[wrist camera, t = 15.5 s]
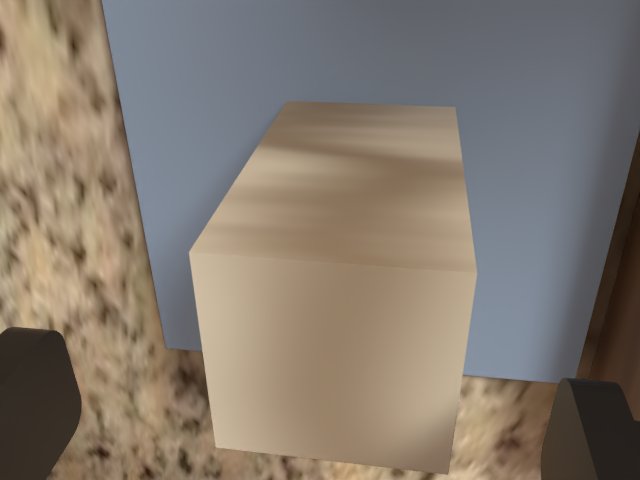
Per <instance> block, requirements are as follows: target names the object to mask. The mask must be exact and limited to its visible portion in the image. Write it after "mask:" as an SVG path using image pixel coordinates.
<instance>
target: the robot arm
mask: <svg viewBox="0 0 640 480" xmlns="http://www.w3.org/2000/svg"><path fill="white" fill-rule="evenodd" d="M81 406H82V402H81V395H80V392H79V388H78V385H77V381H76V378H75V375H74V371H73V368H72V365H71V361H70V358H69V354H68V351H67V348H66V344H65V341H64V338H63V336H62V335H61V334H60V333H59V332H57V331H54V330H43V329H32V328H20V327H11V328H8V329H6V330H5V331H3V332H2V333H1V334H0V480H46V478H47V477H48V475H49V473H50V472H51V470H52V469H53V467H54V465H55V464H56V462H57V461H58V459H59V457H60V456H61V454H62V453H63V451H64V449H65V448H66V446H67V445H68V443H69V441H70V440H71V438H72V437H73V435H74V433H75V431H76V429H77V426H78V423H79V420H80V415H81ZM541 480H640V421H636V420H634V418H633V416H632V413H631V411H630V408H629V405H628V403H627V400H626V398H625V395H624V393H623V390H622V388H621V387H620V385H619V384H618V383H616V382H608V381H597V380H586V379H575V378H562V379H561V381H560V383H559V385H558V388H557V392H556V396H555V400H554V404H553V408H552V412H551V416H550V419H549V423H548V427H547V431H546V435H545V439H544V443H543V447H542V454H541Z"/></svg>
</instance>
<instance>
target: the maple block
mask: <svg viewBox="0 0 640 480" xmlns="http://www.w3.org/2000/svg"><path fill="white" fill-rule="evenodd" d="M189 257H190V264H191V271H192V278H193V286H194V293H195V300H196V308H197V315H198V322H199V329H200V337H201V344H202V351H203V358H204V366H205V373H206V380H207V387H208V395H209V402H210V409H211V416H212V424H213V431H214V438H215V445H216V448H225V449H233V450H242V451H250V452H259V453H268V454H276V455H285V456H293V457H302V458H310V459H319V460H327V461H336V462H344V463H353V464H362V465H370V466H379V467H387V468H396V469H404V470H413V471H421V472H430V473H438V474H447V475H448V473H449V466H450V459H451V452H452V445H453V438H454V431H455V424H456V417H457V410H458V403H459V396H460V389H461V383H462V376H463V369H464V362H465V355H466V348H467V341H468V334H469V327H470V320H471V313H472V306H473V299H474V292H475V285H476V278H477V267H476V260H475V252H474V244H473V237H472V229H471V222H470V214H469V206H468V199H467V191H466V184H465V176H464V168H463V161H462V153H461V145H460V138H459V130H458V123H457V115H456V107H441V106H414V105H387V104H360V103H333V102H306V101H287V102H286V103H285V105H284V106H283V108H282V109H281V111H280V112H279V114H278V116H277V117H276V119H275V120H274V122H273V123H272V125H271V126H270V128H269V129H268V131H267V132H266V134H265V136H264V137H263V139H262V140H261V142H260V143H259V145H258V146H257V148H256V149H255V151H254V153H253V154H252V156H251V157H250V159H249V160H248V162H247V163H246V165H245V166H244V168H243V169H242V171H241V173H240V174H239V176H238V177H237V179H236V180H235V182H234V183H233V185H232V186H231V188H230V190H229V191H228V193H227V194H226V196H225V197H224V199H223V200H222V202H221V203H220V205H219V206H218V208H217V210H216V211H215V213H214V214H213V216H212V217H211V219H210V220H209V222H208V223H207V225H206V226H205V228H204V230H203V231H202V233H201V234H200V236H199V237H198V239H197V240H196V242H195V243H194V245H193V247H192V248H191V250H190V251H189Z"/></svg>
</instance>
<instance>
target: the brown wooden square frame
mask: <svg viewBox="0 0 640 480" xmlns="http://www.w3.org/2000/svg"><path fill="white" fill-rule="evenodd" d="M589 380H597V381H608V382H616V383H618V384H619V385H620V387H621V388H622V390H623V393H624V395H625V398H626V400H627V403H628V405H629V408H630V411H631V413H632V416H633V418H634V420H636V421H640V193H639V197H638V201H637V204H636V208H635V212H634V215H633V219H632V223H631V226H630V230H629V233H628V237H627V241H626V244H625V248H624V252H623V255H622V259H621V263H620V266H619V270H618V274H617V277H616V281H615V285H614V288H613V292H612V296H611V299H610V303H609V307H608V310H607V314H606V317H605V321H604V325H603V328H602V332H601V336H600V339H599V343H598V347H597V350H596V354H595V358H594V361H593V365H592V369H591V372H590V376H589Z"/></svg>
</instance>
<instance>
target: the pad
mask: <svg viewBox="0 0 640 480" xmlns="http://www.w3.org/2000/svg"><path fill="white" fill-rule="evenodd" d="M102 5H103V11H104V16H105V21H106V27H107V32H108V38H109V43H110V48H111V54H112V59H113V65H114V70H115V75H116V81H117V86H118V92H119V97H120V103H121V108H122V113H123V119H124V124H125V130H126V135H127V140H128V146H129V151H130V157H131V162H132V167H133V173H134V178H135V184H136V189H137V194H138V200H139V205H140V211H141V216H142V222H143V227H144V232H145V238H146V243H147V249H148V254H149V259H150V265H151V270H152V276H153V281H154V286H155V292H156V297H157V303H158V308H159V313H160V319H161V324H162V330H163V335H164V341H165V346H166V348H170V349H181V350H192V351H202V344H201V337H200V329H199V322H198V315H197V308H196V300H195V293H194V286H193V278H192V271H191V264H190V257H189V251H190V250H191V248H192V247H193V245H194V243H195V242H196V240H197V239H198V237H199V236H200V234H201V233H202V231H203V230H204V228H205V226H206V225H207V223H208V222H209V220H210V219H211V217H212V216H213V214H214V213H215V211H216V210H217V208H218V206H219V205H220V203H221V202H222V200H223V199H224V197H225V196H226V194H227V193H228V191H229V190H230V188H231V186H232V185H233V183H234V182H235V180H236V179H237V177H238V176H239V174H240V173H241V171H242V169H243V168H244V166H245V165H246V163H247V162H248V160H249V159H250V157H251V156H252V154H253V153H254V151H255V149H256V148H257V146H258V145H259V143H260V142H261V140H262V139H263V137H264V136H265V134H266V132H267V131H268V129H269V128H270V126H271V125H272V123H273V122H274V120H275V119H276V117H277V116H278V114H279V112H280V111H281V109H282V108H283V106H284V105H285V103H286V102H287V101H306V102H333V103H360V104H387V105H414V106H441V107H456V115H457V123H458V130H459V138H460V145H461V153H462V161H463V168H464V176H465V184H466V191H467V199H468V206H469V214H470V222H471V229H472V237H473V244H474V252H475V260H476V267H477V278H476V285H475V292H474V299H473V306H472V313H471V320H470V327H469V334H468V341H467V348H466V355H465V362H464V369H463V375H470V376H481V377H493V378H504V379H515V380H526V381H537V382H548V383H560V381H561V379H562V378H575V377H576V373H577V370H578V366H579V362H580V358H581V354H582V350H583V346H584V343H585V339H586V335H587V331H588V327H589V323H590V319H591V316H592V312H593V308H594V304H595V300H596V296H597V292H598V289H599V285H600V281H601V277H602V273H603V269H604V265H605V261H606V258H607V254H608V250H609V246H610V242H611V238H612V234H613V231H614V227H615V223H616V219H617V215H618V211H619V207H620V204H621V200H622V196H623V192H624V188H625V184H626V180H627V177H628V173H629V169H630V165H631V161H632V157H633V153H634V150H635V146H636V142H637V138H638V134H639V130H640V0H102Z"/></svg>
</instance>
